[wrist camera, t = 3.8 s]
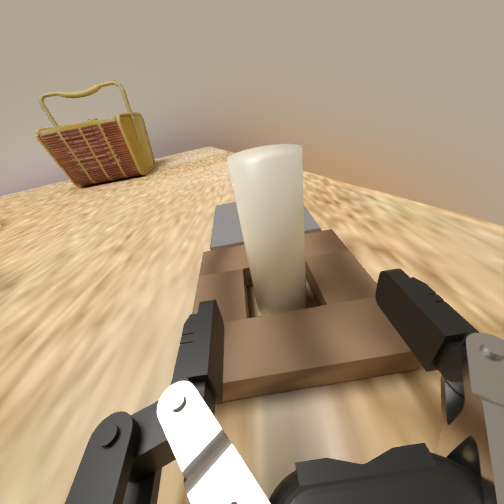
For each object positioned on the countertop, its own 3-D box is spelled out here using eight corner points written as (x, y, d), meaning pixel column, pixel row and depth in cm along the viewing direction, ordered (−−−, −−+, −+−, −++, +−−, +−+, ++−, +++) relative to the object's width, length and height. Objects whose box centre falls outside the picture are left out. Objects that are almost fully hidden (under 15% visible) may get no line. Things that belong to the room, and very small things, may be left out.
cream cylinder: (260, 327, 20) (226, 168, 12) (255, 290, 24) (227, 152, 16) (312, 318, 20) (312, 152, 12) (299, 282, 24) (291, 140, 16)
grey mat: (211, 251, 32) (209, 247, 32) (216, 208, 45) (215, 205, 45) (320, 231, 32) (320, 227, 31) (293, 194, 45) (293, 191, 45)
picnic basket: (162, 163, 102) (133, 82, 85) (147, 178, 81) (103, 74, 64) (100, 175, 102) (58, 96, 85) (67, 193, 80) (3, 93, 64)
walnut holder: (190, 407, 15) (178, 390, 14) (208, 267, 29) (203, 252, 27) (419, 369, 15) (429, 348, 14) (330, 246, 28) (331, 229, 27)
